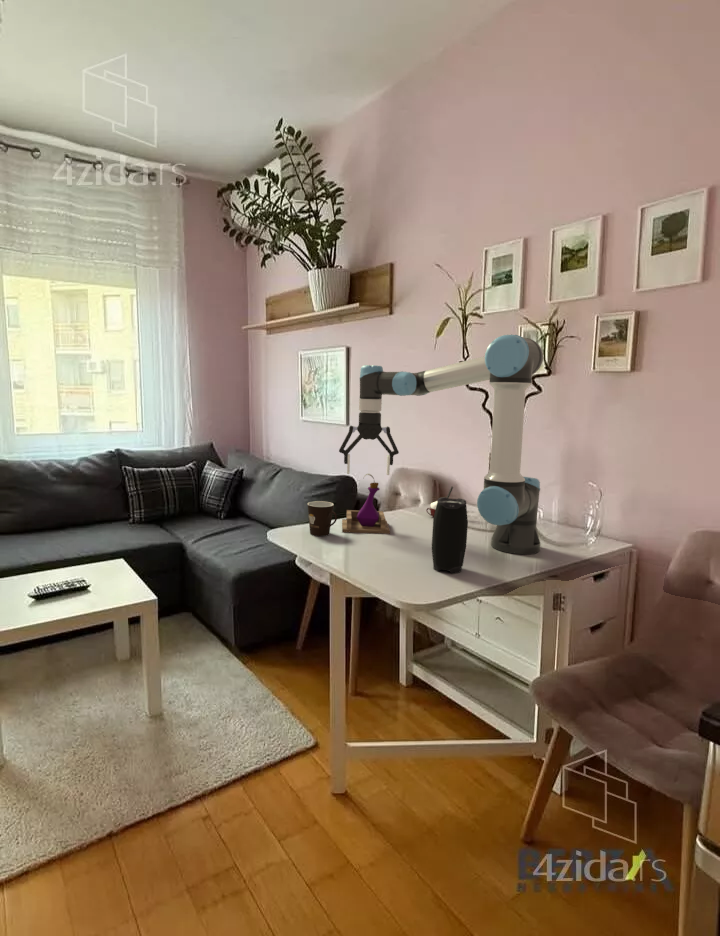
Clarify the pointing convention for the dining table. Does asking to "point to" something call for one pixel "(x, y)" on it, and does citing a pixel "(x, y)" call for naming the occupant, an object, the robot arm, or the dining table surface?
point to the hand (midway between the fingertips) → (368, 474)
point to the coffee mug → (320, 517)
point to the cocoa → (434, 504)
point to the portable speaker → (449, 534)
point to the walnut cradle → (354, 526)
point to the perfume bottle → (369, 507)
